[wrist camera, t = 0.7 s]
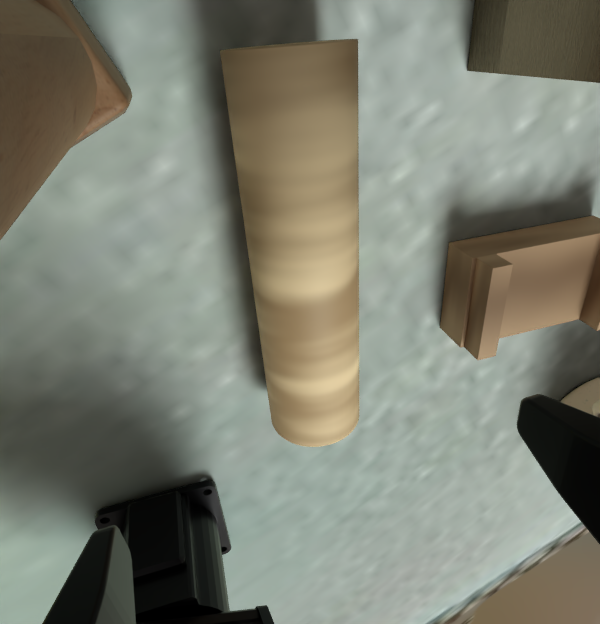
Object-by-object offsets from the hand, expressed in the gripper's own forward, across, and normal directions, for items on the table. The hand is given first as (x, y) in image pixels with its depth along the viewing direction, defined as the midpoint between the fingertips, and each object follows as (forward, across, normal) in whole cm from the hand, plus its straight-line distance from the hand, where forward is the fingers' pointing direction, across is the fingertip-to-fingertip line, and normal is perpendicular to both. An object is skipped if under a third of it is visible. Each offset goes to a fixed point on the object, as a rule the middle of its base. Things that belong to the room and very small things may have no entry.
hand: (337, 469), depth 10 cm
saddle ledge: (+12, -14, +4) cm, 19 cm away
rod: (+12, -2, 0) cm, 13 cm away
